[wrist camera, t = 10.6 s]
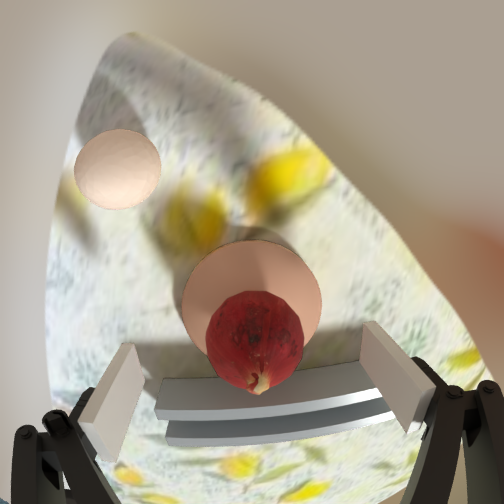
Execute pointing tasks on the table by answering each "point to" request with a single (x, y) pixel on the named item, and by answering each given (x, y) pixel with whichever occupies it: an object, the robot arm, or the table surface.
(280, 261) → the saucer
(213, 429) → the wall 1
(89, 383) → the table surface
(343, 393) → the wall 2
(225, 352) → the onion
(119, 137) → the egg
